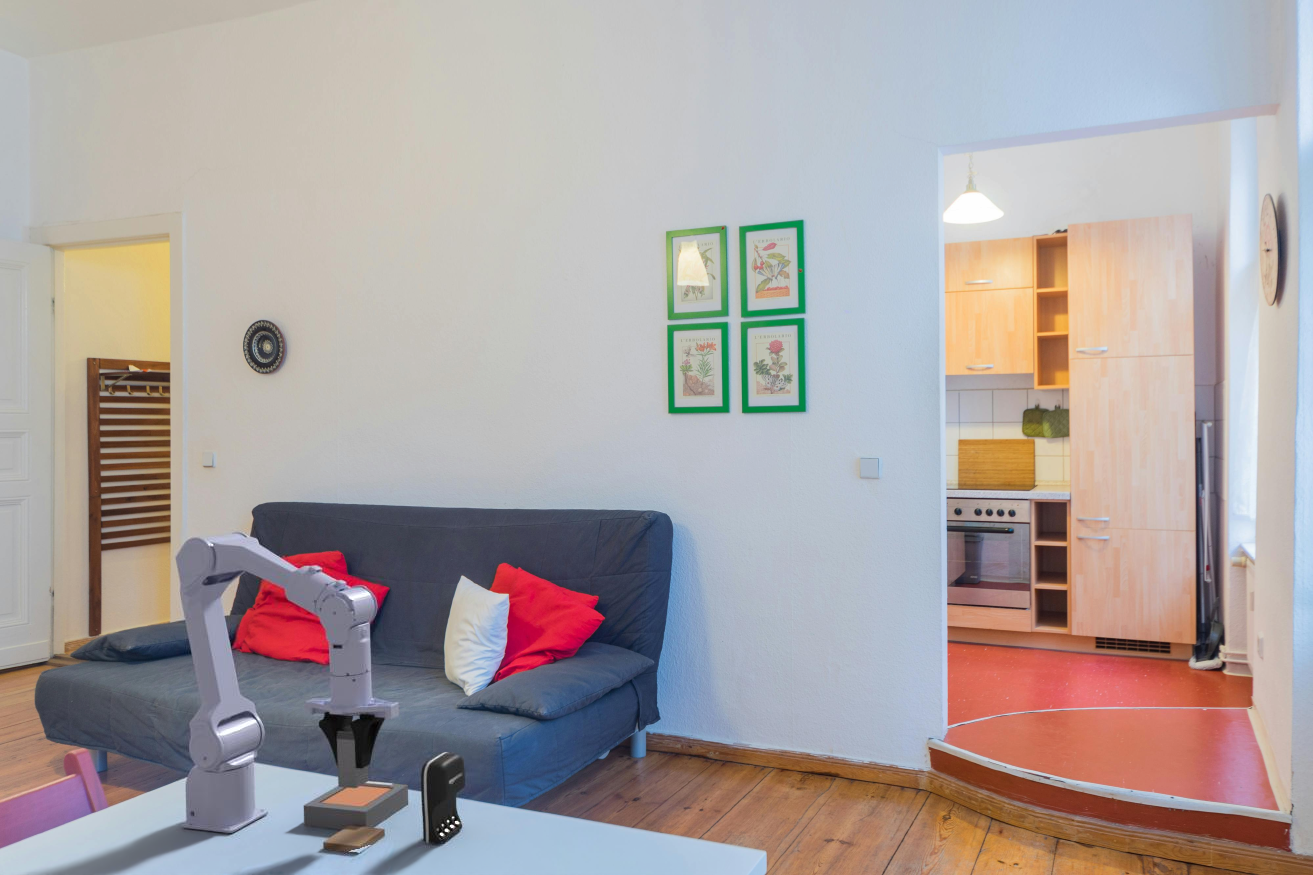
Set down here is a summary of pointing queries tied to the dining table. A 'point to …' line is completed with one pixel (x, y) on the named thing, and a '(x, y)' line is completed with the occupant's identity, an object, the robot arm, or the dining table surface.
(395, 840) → the dining table surface
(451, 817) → the battery charger
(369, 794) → the button
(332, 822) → the tray
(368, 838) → the walnut pad
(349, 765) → the grey rectangular block
